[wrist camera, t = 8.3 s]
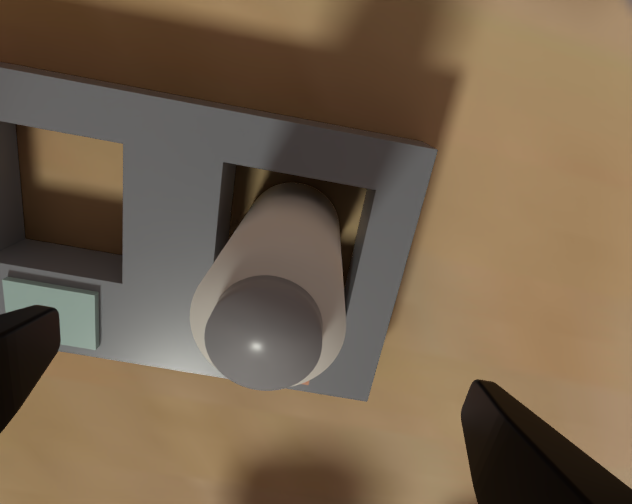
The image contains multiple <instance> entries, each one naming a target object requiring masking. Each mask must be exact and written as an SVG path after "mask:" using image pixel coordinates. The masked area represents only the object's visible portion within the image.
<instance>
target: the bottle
mask: <svg viewBox="0 0 632 504" xmlns="http://www.w3.org/2000/svg"><path fill="white" fill-rule="evenodd" d="M190 325H191V331H192V334H193V337H194V340H195V342H196V344H197V346H198V348H199V350H200V351H201V353H202V354H203V355H204V357H205V358H206V359H207V360H208V362H210V363H211V364H212V365H213V366H214V367H215V368H216V369H217V370H219V371H220V372H221V373H222V374H223V375H224V376H225V377H227V378H228V379H229V380H231V381H233V382H234V383H237V384H239V385H241V386H244V387H247V388H250V389H255V390H263V391H272V390H279V389H284V388H287V387H292V386H296V385H299V384H302V383H305V382H307V381H309V380H311V379H313V378H315V377H316V376H318V375H319V374H321V373H322V372H323V371H324V370H326V369H327V368H328V367H329V366H330V365H331V363H332V362H333V361H334V360H335V358H336V357H337V355H338V354H339V352H340V350H341V348H342V345H343V342H344V339H345V333H346V311H345V297H344V283H343V269H342V256H341V242H340V228H339V219H338V215H337V212H336V210H335V208H334V206H333V204H332V203H331V201H330V200H329V199H328V198H327V197H326V196H325V195H324V194H323V193H322V192H320V191H319V190H317V189H316V188H314V187H312V186H309V185H306V184H302V183H296V182H288V183H282V184H278V185H275V186H273V187H271V188H269V189H267V190H266V191H264V192H263V193H262V194H261V195H260V196H259V197H258V198H257V199H256V201H255V202H254V203H253V205H252V206H251V208H250V209H249V211H248V212H247V214H246V215H245V217H244V218H243V220H242V221H241V223H240V224H239V226H238V227H237V229H236V230H235V232H234V233H233V235H232V236H231V238H230V239H229V241H228V242H227V244H226V245H225V247H224V248H223V250H222V251H221V253H220V254H219V256H218V257H217V259H216V260H215V262H214V263H213V265H212V266H211V268H210V269H209V271H208V272H207V274H206V275H205V277H204V278H203V279H202V281H201V282H200V284H199V285H198V287H197V289H196V291H195V293H194V296H193V299H192V302H191V308H190Z"/></svg>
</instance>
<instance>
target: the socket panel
mask: <svg viewBox="0 0 632 504" xmlns="http://www.w3.org/2000/svg"><path fill="white" fill-rule="evenodd" d="M16 124H19V125H24V126H30V127H35V128H40V129H46V130H51V131H57V132H62V133H68V134H73V135H79V136H84V137H90V138H95V139H100V140H106V141H111V142H117V143H122V144H123V255H117V254H111V253H106V252H100V251H94V250H88V249H83V248H77V247H71V246H65V245H60V244H54V243H48V242H42V241H36V240H31V239H25V230H24V218H23V206H22V194H21V182H20V171H19V159H18V147H17V135H16ZM437 151H438V150H437V149H435V148H434V147H432V146H430V145H428V144H426V143H424V142H423V141H418V140H412V139H407V138H402V137H396V136H391V135H386V134H380V133H375V132H370V131H365V130H359V129H354V128H349V127H343V126H338V125H333V124H328V123H322V122H317V121H312V120H306V119H301V118H296V117H290V116H285V115H280V114H275V113H269V112H264V111H259V110H253V109H248V108H243V107H237V106H232V105H227V104H222V103H216V102H211V101H206V100H200V99H195V98H190V97H184V96H179V95H174V94H169V93H163V92H158V91H153V90H147V89H142V88H137V87H132V86H126V85H121V84H116V83H110V82H105V81H100V80H94V79H89V78H84V77H79V76H73V75H68V74H63V73H57V72H52V71H47V70H41V69H36V68H31V67H26V66H20V65H15V64H10V63H4V62H0V314H4V313H7V312H11V311H14V310H18V309H22V308H25V307H29V306H32V305H42V306H48V307H54V308H56V309H57V310H58V312H59V319H60V336H61V343H60V347H59V350H58V351H61V352H68V353H74V354H80V355H86V356H92V357H98V358H104V359H110V360H116V361H122V362H129V363H135V364H141V365H147V366H153V367H159V368H165V369H171V370H177V371H183V372H189V373H196V374H202V375H208V376H214V377H220V378H226V379H228V378H227V377H225V376H224V375H223V374H222V373H221V372H220V371H219V370H217V369H216V368H215V367H214V366H213V365H212V364H211V363H210V362H208V360H207V359H206V358H205V357H204V355H203V354H202V353H201V351H200V350H199V348H198V346H197V344H196V342H195V340H194V337H193V334H192V331H191V325H190V308H191V302H192V299H193V296H194V293H195V291H196V289H197V287H198V285H199V284H200V282H201V281H202V279H203V278H204V277H205V275H206V274H207V272H208V271H209V269H210V268H211V266H212V265H213V263H214V262H215V260H216V259H217V257H218V256H219V254H220V253H221V251H222V250H223V248H224V247H225V245H226V244H227V242H228V238H229V228H230V219H231V210H232V200H233V191H234V182H235V172H236V164H237V165H242V166H248V167H253V168H258V169H264V170H269V171H275V172H280V173H286V174H291V175H297V176H302V177H307V178H313V179H318V180H324V181H329V182H335V183H340V184H346V185H351V186H357V187H362V188H367V191H366V195H365V200H364V204H363V209H362V213H361V217H360V222H359V226H358V231H357V235H356V239H355V244H354V248H353V253H352V257H351V261H350V266H349V270H348V275H347V279H346V284H345V288H344V297H345V311H346V333H345V339H344V342H343V345H342V348H341V350H340V352H339V354H338V355H337V357H336V358H335V360H334V361H333V362H332V363H331V365H330V366H329V367H328V368H327V369H326V370H324V371H323V372H322V373H321V374H319V375H318V376H316V377H315V378H313V379H311V380H309V381H307V382H305V383H302V384H299V385H296V386H292V387H287V389H293V390H299V391H305V392H311V393H318V394H324V395H330V396H336V397H342V398H348V399H354V400H360V401H366V402H367V400H368V397H369V393H370V390H371V386H372V382H373V379H374V375H375V372H376V368H377V365H378V361H379V358H380V354H381V350H382V347H383V343H384V340H385V336H386V333H387V329H388V325H389V322H390V318H391V315H392V311H393V308H394V304H395V301H396V297H397V293H398V290H399V286H400V283H401V279H402V276H403V272H404V268H405V265H406V261H407V258H408V254H409V251H410V247H411V244H412V240H413V236H414V233H415V229H416V226H417V222H418V219H419V215H420V212H421V208H422V204H423V201H424V197H425V194H426V190H427V187H428V183H429V179H430V176H431V172H432V169H433V165H434V162H435V158H436V155H437Z"/></svg>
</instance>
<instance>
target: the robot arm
mask: <svg viewBox="0 0 632 504" xmlns="http://www.w3.org/2000/svg"><path fill="white" fill-rule="evenodd" d="M60 343H61V336H60V319H59V312H58V310H57V309H56V308H54V307H48V306H42V305H32V306H29V307H25V308H22V309H18V310H14V311H11V312H7V313H4V314H0V433H1V432H2V431H3V429H4V428H5V427H6V426H7V424H8V423H9V422H10V421H11V419H12V418H13V417H14V416H15V414H16V413H17V412H18V410H19V409H20V407H21V406H22V405H23V403H24V402H25V400H26V399H27V397H28V396H29V394H30V393H31V391H32V390H33V388H34V387H35V385H36V384H37V382H38V381H39V379H40V378H41V376H42V375H43V373H44V372H45V370H46V369H47V367H48V366H49V364H50V363H51V361H52V360H53V358H54V357H55V355H56V354H57V352H58V350H59V347H60ZM461 421H462V427H463V433H464V438H465V444H466V449H467V455H468V460H469V466H470V472H471V477H472V482H473V487H474V491H475V494H476V498H477V502H478V504H632V489H631V488H629V487H628V486H627V485H626V484H624V483H623V482H622V481H620V480H619V479H618V478H617V477H615V476H614V475H613V474H611V473H610V472H609V471H608V470H606V469H605V468H604V467H602V466H601V465H600V464H599V463H597V462H596V461H595V460H593V459H592V458H591V457H590V456H588V455H587V454H586V453H585V452H583V451H582V450H581V449H579V448H578V447H577V446H576V445H574V444H573V443H572V442H570V441H569V440H568V439H567V438H565V437H564V436H563V435H561V434H560V433H559V432H558V431H556V430H555V429H554V428H552V427H551V426H550V425H549V424H547V423H546V422H545V421H543V420H542V419H541V418H540V417H538V416H537V415H536V414H534V413H533V412H532V411H531V410H529V409H528V408H527V407H525V406H524V405H523V404H522V403H520V402H519V401H518V400H516V399H515V398H514V397H513V396H511V395H510V394H509V393H507V392H506V391H505V390H504V389H502V388H501V387H500V386H498V385H497V384H496V383H494V382H491V381H485V380H479V379H477V380H474V381H473V382H472V384H471V386H470V389H469V391H468V394H467V396H466V399H465V402H464V404H463V407H462V410H461Z"/></svg>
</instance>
